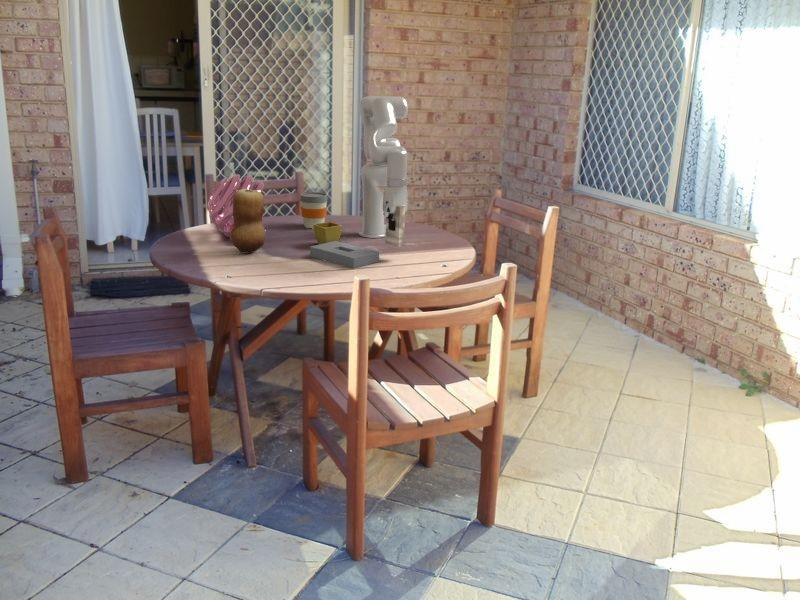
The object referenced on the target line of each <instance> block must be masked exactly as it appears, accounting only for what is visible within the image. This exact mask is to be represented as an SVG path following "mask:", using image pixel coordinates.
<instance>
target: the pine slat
mask: <svg viewBox="0 0 800 600" xmlns="http://www.w3.org/2000/svg"><path fill="white" fill-rule="evenodd" d="M391 216H392V214H391ZM405 220H406V212H405V205H400V206H398V208H397V212H396V213H395V220H394V221H396V226H395V231H392V230H389V229H388V224H389V220H388V219H387V217H386V216H385V225H386V230H385V231H386V236H385V242H384V243H385V244H387V245H389V246H390V245H391V246H393V247H398V248H400V247H403V246H405V226H406V225H405V224H406V223H405Z"/></svg>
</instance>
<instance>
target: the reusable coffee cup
mask: <svg viewBox="0 0 800 600" xmlns="http://www.w3.org/2000/svg"><path fill="white" fill-rule="evenodd" d="M299 202H300V205H301V206H300V212H301V217H302V220H303V225H304V226H305V227H306V228H305V227H304V228H305V229H308V228H312V229H311V230H314V227H313V224H318V223H325V222H326V221H325V220H326V219H325V218H326V217H327V210H328V206H327V205H328V203H327V202H328V194H327V193H325V192H316V191H313V192H311V191H310V192H309V191H308V192H302V193H300V196H299Z"/></svg>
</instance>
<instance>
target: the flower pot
mask: <svg viewBox="0 0 800 600" xmlns="http://www.w3.org/2000/svg"><path fill="white" fill-rule="evenodd" d="M313 227H314V229H313V232H314V237H315V240H316V241H317V243H318V245H319V244H324V243H328V242H333V241H338V242H340V238H341V235H342V224H338V223H336V222H332V221H324V223H318V224H313Z"/></svg>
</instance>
